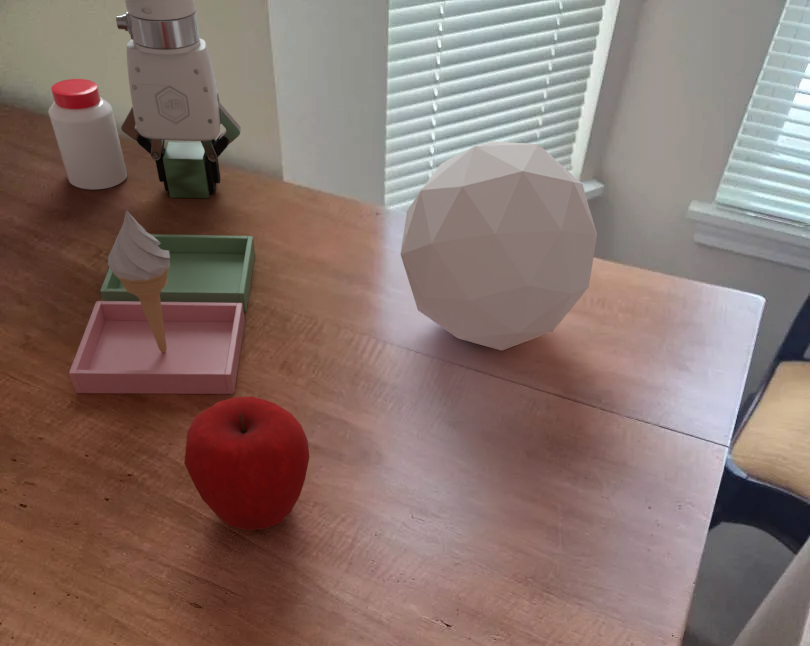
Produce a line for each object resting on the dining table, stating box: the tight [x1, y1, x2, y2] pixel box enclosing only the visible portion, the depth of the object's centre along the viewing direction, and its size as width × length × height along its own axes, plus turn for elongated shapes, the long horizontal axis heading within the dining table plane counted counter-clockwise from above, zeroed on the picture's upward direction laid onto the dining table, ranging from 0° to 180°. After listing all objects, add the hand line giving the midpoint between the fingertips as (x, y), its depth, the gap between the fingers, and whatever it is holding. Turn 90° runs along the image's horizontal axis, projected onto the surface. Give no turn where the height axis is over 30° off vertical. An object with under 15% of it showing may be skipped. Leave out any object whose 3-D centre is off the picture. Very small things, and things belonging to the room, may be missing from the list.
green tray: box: [100, 233, 256, 313], centre depth 85 cm, size 15×12×2 cm
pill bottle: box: [48, 78, 128, 191], centre depth 97 cm, size 8×8×11 cm
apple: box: [183, 395, 310, 531], centre depth 60 cm, size 10×10×11 cm
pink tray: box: [68, 300, 246, 395], centre depth 76 cm, size 15×12×2 cm
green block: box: [163, 141, 211, 199], centre depth 99 cm, size 5×5×5 cm
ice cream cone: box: [107, 209, 170, 353], centre depth 71 cm, size 6×6×15 cm
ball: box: [400, 140, 598, 351], centre depth 76 cm, size 19×20×20 cm
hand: (191, 185), depth 100 cm, fingers closed on green block, 5 cm apart
